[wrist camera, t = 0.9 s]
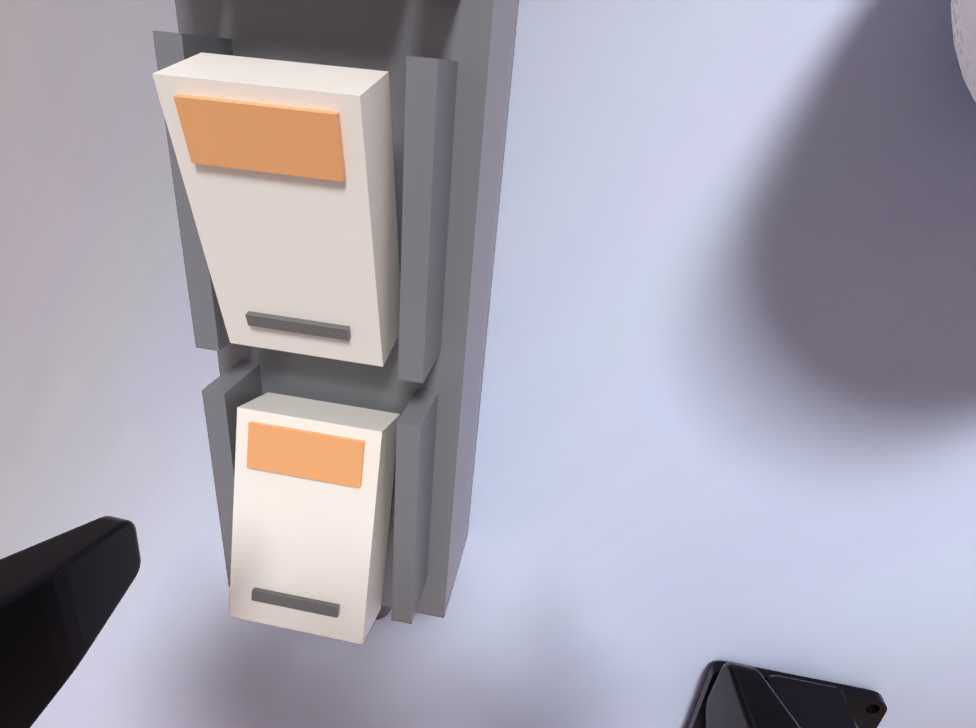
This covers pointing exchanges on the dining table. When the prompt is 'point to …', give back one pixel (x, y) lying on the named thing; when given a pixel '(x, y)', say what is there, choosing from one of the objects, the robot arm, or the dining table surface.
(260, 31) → the rocker switch panel
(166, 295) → the dining table surface
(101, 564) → the robot arm
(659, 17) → the dining table surface
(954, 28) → the lidded jar
